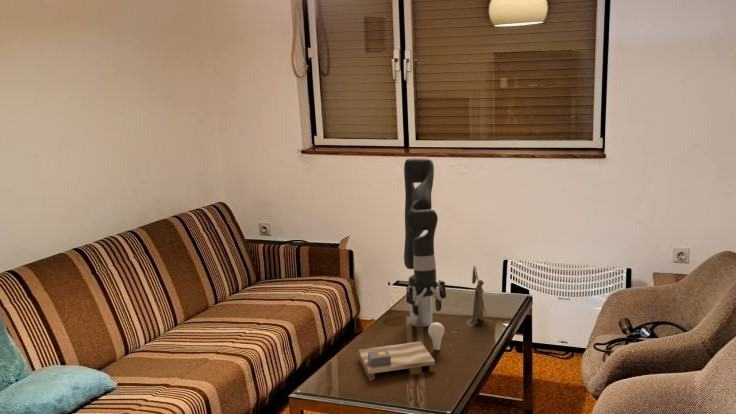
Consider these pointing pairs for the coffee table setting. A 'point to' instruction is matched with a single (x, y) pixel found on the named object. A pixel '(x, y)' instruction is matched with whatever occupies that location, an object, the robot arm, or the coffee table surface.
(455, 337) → the coffee table surface
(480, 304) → the wizard figurine
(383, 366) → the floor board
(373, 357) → the grey box
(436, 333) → the lightbulb
